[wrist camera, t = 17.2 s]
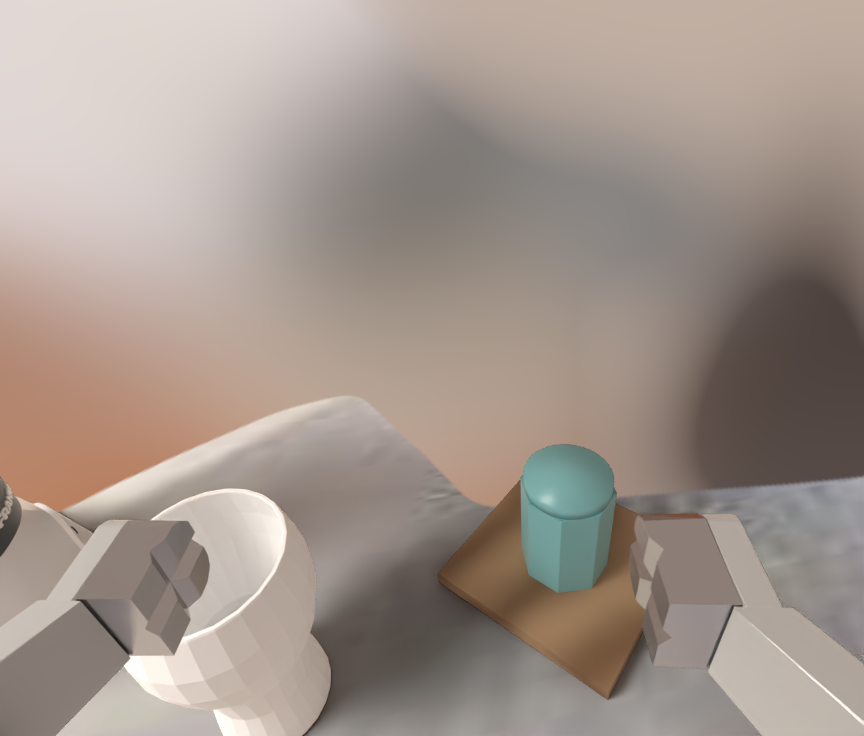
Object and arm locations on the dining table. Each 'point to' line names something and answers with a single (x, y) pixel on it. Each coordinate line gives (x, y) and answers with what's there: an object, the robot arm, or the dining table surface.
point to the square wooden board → (552, 597)
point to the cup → (246, 622)
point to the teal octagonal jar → (566, 516)
